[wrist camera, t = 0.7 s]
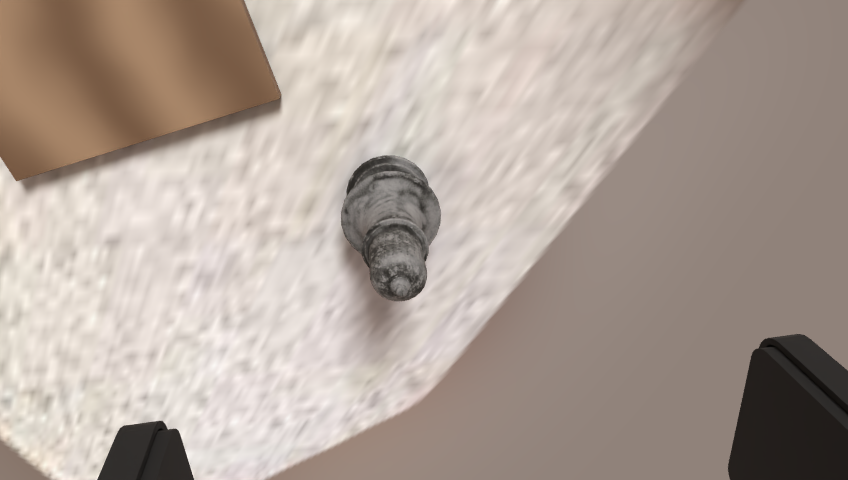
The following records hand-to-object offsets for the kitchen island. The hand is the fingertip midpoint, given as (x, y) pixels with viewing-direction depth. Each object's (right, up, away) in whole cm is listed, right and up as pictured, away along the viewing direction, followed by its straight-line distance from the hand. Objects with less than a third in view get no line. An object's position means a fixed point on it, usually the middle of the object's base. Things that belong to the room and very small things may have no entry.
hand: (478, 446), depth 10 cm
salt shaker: (-3, +6, +30) cm, 31 cm away
